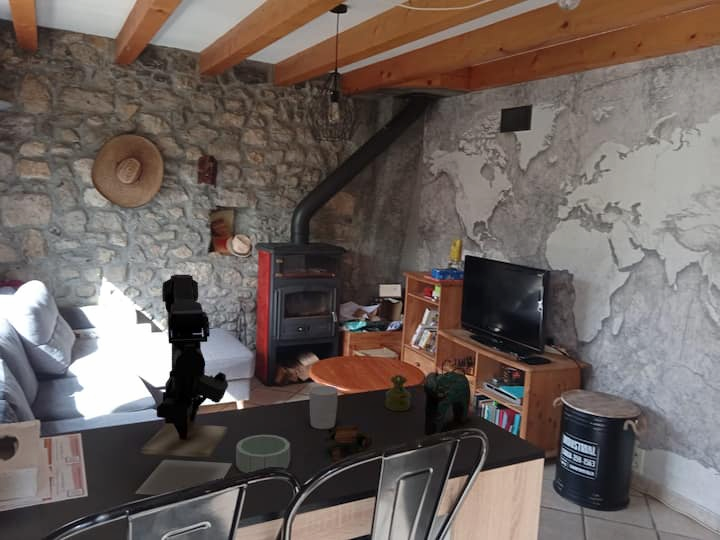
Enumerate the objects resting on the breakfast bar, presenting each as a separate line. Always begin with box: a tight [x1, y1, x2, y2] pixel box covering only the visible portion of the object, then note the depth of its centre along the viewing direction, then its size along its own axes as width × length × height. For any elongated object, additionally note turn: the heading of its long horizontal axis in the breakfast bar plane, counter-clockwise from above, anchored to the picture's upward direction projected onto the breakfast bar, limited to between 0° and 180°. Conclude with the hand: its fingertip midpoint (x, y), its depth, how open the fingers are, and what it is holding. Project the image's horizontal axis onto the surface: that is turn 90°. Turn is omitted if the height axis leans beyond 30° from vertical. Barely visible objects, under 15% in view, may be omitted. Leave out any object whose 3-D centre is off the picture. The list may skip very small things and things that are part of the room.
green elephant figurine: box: [423, 358, 471, 436], centre depth 164 cm, size 20×6×20 cm, turn 139°
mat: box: [134, 459, 233, 496], centre depth 129 cm, size 16×16×1 cm
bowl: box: [235, 434, 291, 474], centre depth 137 cm, size 12×12×5 cm
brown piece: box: [324, 425, 373, 462], centre depth 146 cm, size 12×10×8 cm
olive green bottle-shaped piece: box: [385, 374, 412, 412], centre depth 180 cm, size 7×7×10 cm
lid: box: [140, 420, 228, 458], centre depth 128 cm, size 14×14×5 cm
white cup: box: [309, 385, 339, 430], centre depth 164 cm, size 8×8×10 cm
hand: (186, 435), depth 128 cm, fingers closed on lid, 3 cm apart
